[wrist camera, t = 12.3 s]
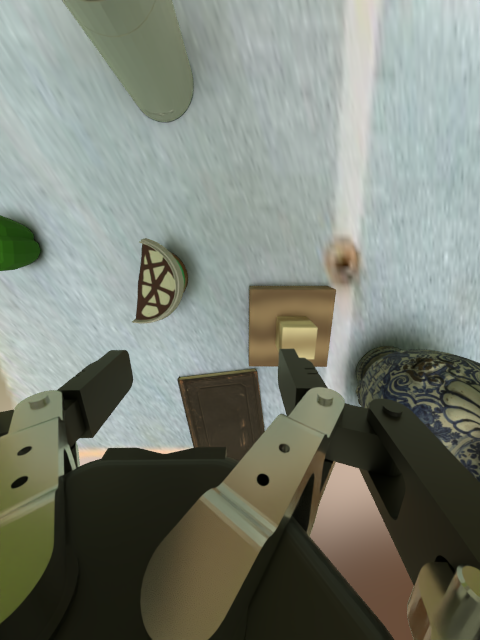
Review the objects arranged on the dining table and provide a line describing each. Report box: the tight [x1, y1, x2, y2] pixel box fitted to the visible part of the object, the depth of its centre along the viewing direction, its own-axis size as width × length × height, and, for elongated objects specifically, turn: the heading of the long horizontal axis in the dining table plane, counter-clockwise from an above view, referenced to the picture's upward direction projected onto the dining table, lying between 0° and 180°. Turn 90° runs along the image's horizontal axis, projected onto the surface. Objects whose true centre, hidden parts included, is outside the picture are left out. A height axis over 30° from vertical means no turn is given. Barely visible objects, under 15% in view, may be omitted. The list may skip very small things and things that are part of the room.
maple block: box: [275, 316, 318, 359], centre depth 36 cm, size 5×5×6 cm
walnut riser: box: [249, 286, 336, 367], centre depth 41 cm, size 14×14×4 cm
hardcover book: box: [178, 369, 265, 462], centre depth 49 cm, size 16×23×2 cm
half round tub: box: [132, 238, 188, 323], centre depth 36 cm, size 12×6×10 cm, turn 168°
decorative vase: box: [356, 346, 480, 482], centre depth 33 cm, size 21×19×28 cm
